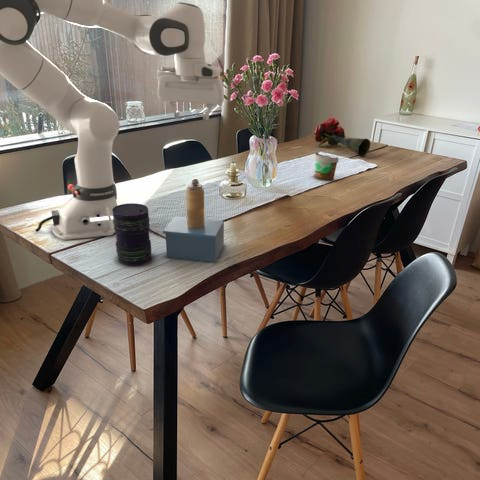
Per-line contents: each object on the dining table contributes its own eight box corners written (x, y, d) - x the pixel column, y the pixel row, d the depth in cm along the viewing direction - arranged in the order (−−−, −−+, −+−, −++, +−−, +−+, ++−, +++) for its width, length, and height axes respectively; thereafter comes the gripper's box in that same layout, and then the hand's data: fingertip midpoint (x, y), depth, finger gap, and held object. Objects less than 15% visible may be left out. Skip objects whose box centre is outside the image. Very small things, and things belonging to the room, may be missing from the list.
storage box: (166, 257, 142) (165, 233, 139) (178, 241, 153) (177, 219, 149) (215, 262, 141) (215, 238, 137) (223, 245, 151) (224, 223, 147)
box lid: (162, 233, 139) (162, 230, 138) (174, 218, 149) (174, 216, 148) (215, 238, 137) (215, 235, 136) (224, 223, 147) (224, 220, 146)
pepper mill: (191, 230, 139) (190, 182, 132) (184, 224, 143) (182, 177, 136) (207, 227, 142) (207, 180, 134) (199, 221, 145) (198, 175, 138)
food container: (305, 176, 218) (308, 153, 213) (314, 174, 222) (317, 151, 216) (326, 183, 211) (329, 159, 205) (335, 180, 214) (339, 157, 209)
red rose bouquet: (361, 171, 257) (314, 153, 278) (383, 144, 257) (334, 128, 279) (353, 150, 244) (304, 133, 266) (376, 123, 245) (325, 108, 267)
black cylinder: (112, 264, 137) (106, 213, 129) (124, 250, 145) (119, 201, 137) (146, 267, 136) (141, 217, 128) (156, 253, 144) (153, 204, 136)
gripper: (153, 67, 142) (155, 117, 150) (221, 71, 140) (220, 122, 147) (159, 65, 147) (162, 114, 155) (225, 69, 145) (224, 118, 152)
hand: (191, 118), depth 151 cm, fingers open, 8 cm apart
